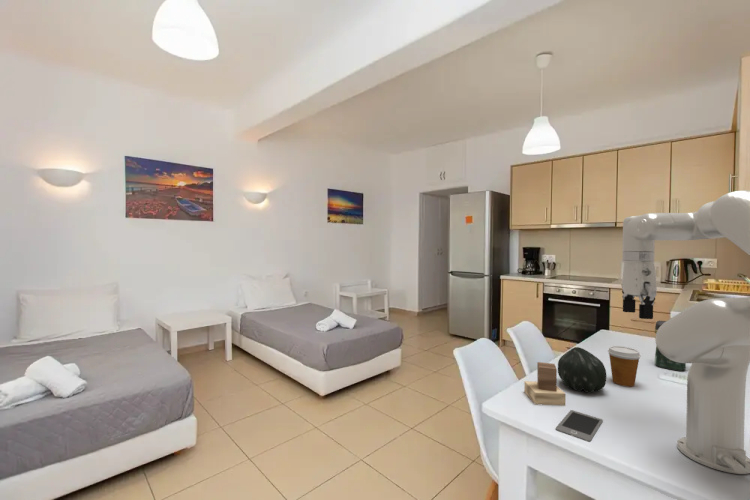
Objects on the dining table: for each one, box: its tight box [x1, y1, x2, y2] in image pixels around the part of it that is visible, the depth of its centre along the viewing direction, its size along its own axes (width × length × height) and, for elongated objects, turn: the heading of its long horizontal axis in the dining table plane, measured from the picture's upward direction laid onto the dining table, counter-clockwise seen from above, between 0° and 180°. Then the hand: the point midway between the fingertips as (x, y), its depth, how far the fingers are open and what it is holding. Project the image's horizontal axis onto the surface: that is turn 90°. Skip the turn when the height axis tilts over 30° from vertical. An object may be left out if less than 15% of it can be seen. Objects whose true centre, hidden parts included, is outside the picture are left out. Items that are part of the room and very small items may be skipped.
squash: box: [557, 346, 607, 393], centre depth 118 cm, size 14×15×15 cm
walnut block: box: [536, 361, 558, 392], centre depth 109 cm, size 5×5×7 cm
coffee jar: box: [654, 320, 687, 372], centre depth 139 cm, size 10×8×19 cm
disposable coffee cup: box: [607, 345, 641, 388], centre depth 122 cm, size 10×10×12 cm
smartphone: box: [555, 409, 604, 443], centre depth 93 cm, size 15×8×1 cm, turn 136°
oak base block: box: [523, 380, 567, 406], centre depth 110 cm, size 9×9×4 cm
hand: (637, 315), depth 102 cm, fingers open, 9 cm apart
